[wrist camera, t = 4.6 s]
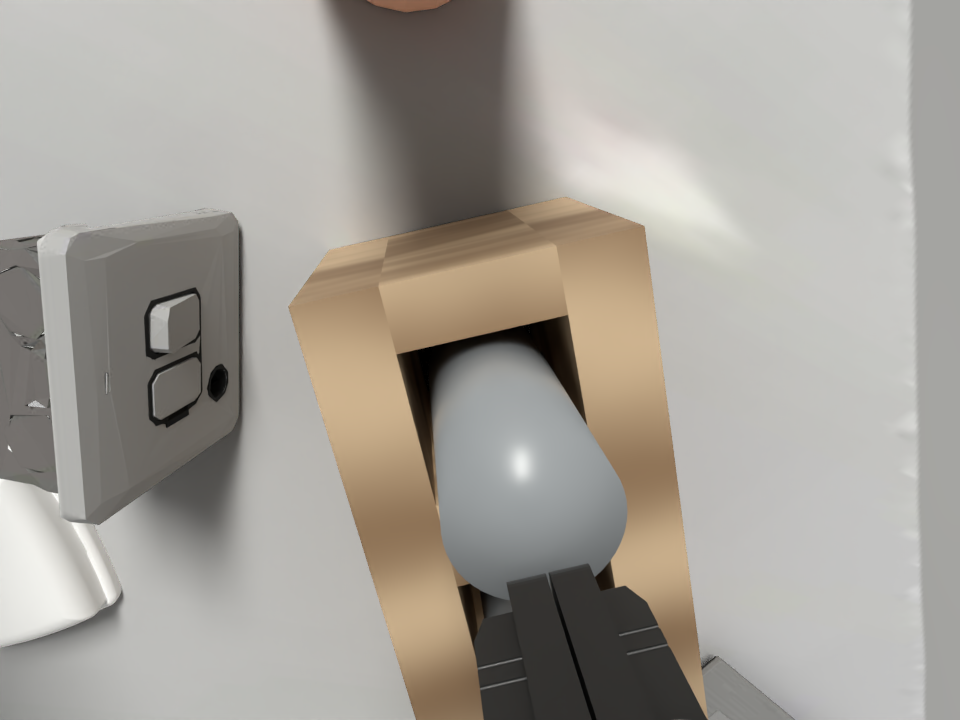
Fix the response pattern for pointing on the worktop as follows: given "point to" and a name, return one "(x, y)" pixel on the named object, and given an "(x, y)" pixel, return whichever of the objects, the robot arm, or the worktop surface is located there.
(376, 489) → the socket block
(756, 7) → the worktop surface
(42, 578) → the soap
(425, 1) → the salt shaker
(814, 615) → the worktop surface
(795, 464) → the worktop surface
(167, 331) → the electrical switch
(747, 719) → the electrical outlet
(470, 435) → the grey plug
